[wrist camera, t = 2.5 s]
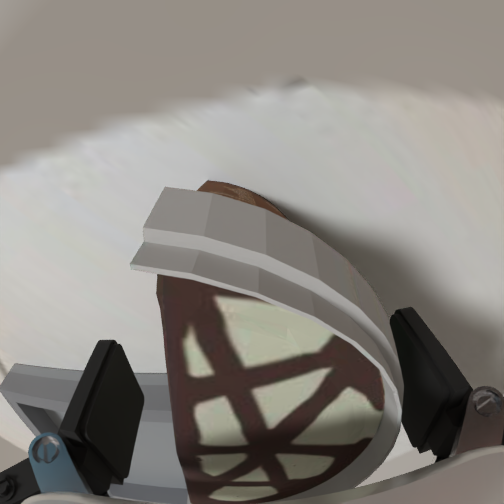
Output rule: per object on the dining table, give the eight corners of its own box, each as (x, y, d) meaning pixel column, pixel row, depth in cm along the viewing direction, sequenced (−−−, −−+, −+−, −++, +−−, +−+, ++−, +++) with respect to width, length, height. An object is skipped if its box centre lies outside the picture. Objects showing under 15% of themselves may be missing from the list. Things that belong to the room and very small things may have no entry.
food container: (305, 370, 18) (336, 522, 9) (203, 366, 18) (186, 525, 9) (350, 161, 13) (517, 257, 4) (209, 146, 13) (126, 224, 4)
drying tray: (207, 372, 18) (203, 410, 15) (242, 485, 25) (242, 509, 23) (14, 363, 18) (-2, 388, 15) (101, 474, 26) (96, 494, 23)
